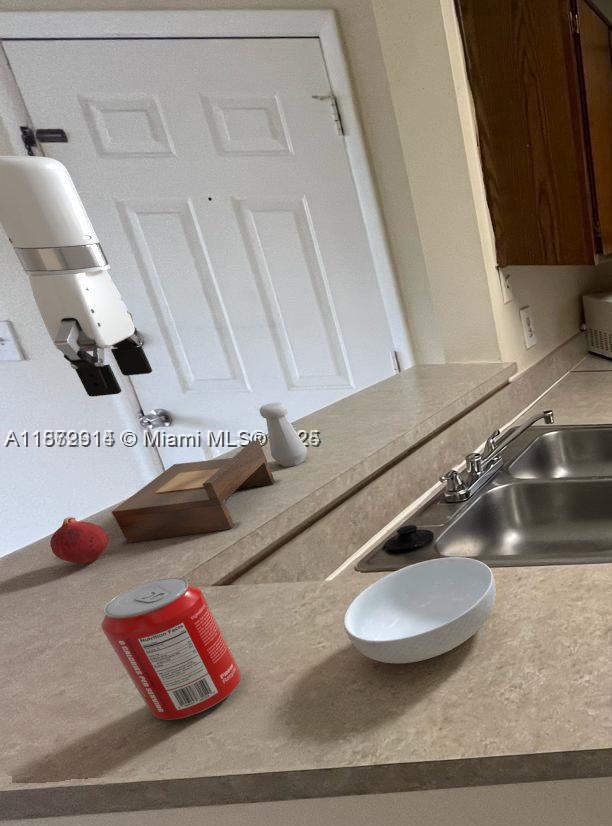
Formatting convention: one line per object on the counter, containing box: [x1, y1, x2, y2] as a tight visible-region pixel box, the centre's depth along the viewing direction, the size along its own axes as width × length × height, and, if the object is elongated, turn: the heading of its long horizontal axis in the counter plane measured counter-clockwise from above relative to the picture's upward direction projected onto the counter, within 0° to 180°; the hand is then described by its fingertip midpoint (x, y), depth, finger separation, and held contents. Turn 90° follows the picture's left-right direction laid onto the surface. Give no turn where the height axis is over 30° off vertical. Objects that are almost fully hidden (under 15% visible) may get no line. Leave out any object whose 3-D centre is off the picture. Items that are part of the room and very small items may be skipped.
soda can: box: [101, 577, 242, 721], centre depth 69 cm, size 8×8×15 cm
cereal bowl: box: [343, 556, 497, 664], centre depth 80 cm, size 17×17×7 cm
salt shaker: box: [259, 402, 308, 468], centre depth 125 cm, size 6×6×13 cm
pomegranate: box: [49, 516, 110, 564], centre depth 94 cm, size 6×6×8 cm
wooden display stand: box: [111, 440, 276, 544], centre depth 109 cm, size 14×18×9 cm
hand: (122, 383), depth 87 cm, fingers open, 9 cm apart
